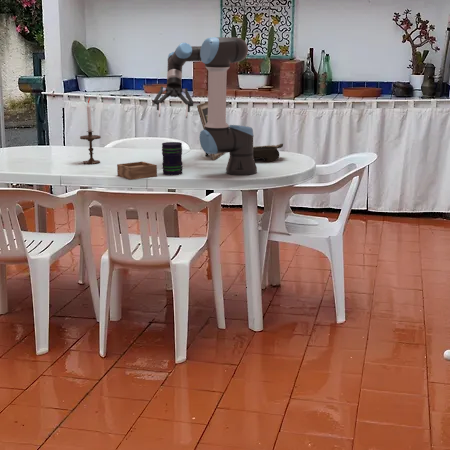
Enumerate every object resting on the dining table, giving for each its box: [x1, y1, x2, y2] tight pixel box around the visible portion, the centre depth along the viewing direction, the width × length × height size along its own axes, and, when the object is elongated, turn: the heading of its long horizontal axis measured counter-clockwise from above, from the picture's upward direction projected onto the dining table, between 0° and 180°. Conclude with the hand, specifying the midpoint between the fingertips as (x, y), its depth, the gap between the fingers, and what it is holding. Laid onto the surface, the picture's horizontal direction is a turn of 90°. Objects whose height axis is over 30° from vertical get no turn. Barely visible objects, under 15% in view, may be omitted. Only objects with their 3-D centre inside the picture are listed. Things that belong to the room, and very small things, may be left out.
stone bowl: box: [253, 143, 284, 163], centre depth 406 cm, size 25×25×9 cm
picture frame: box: [196, 101, 225, 161], centre depth 419 cm, size 33×10×30 cm, turn 168°
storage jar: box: [161, 141, 183, 176], centre depth 365 cm, size 10×10×15 cm
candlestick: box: [79, 97, 102, 165], centre depth 398 cm, size 11×11×35 cm
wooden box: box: [116, 161, 158, 181], centre depth 361 cm, size 14×14×6 cm
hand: (173, 116), depth 375 cm, fingers open, 13 cm apart
